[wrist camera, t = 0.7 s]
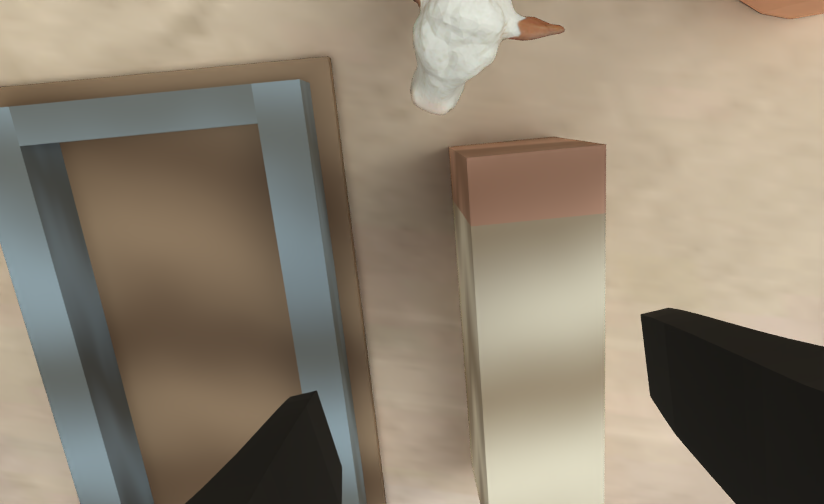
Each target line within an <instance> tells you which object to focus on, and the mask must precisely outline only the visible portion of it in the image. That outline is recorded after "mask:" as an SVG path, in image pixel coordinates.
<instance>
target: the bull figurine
mask: <svg viewBox="0 0 824 504" xmlns="http://www.w3.org/2000/svg"><path fill="white" fill-rule="evenodd" d="M414 1H415V2H416V3H417V4H418V5H419V7H420V14H419V16H418V18H417V20H416V22H415V24H414V27H413V45H414V49H415V53H416V59H417V69H416V71H415V72H414V75H413V78H412V83H411V89H410V92H411V95H412V101H413V103H414V104H415V105H416V106H417V107H419V108H420V109H422V110H425V111H427V112H429V113H432V114H436V115H444V114H446V113H447V112H449V111H450V110H452V109H453V108H454V107H455V105H456V104H457V102H458V100H459V98H460V96H461V94H462V92H463V89H464V85H465V82H466V81H468V80H469V79H471V78H472V77H474V76H476V75H477V74H478V73H480V72H481V71H482V70H483V69H484V68H485V67H487V66H488V65H490V64H491V63H492V62H493V60H494V59H495V57H496V53H497V50H498V47H499V44H500V43H501V41H502V40H504V39H515V40H523V41H524V40H533V39H537V38H541V37H545V36H549V35H553V34H560V33H562V32H564V31H565V30H564V28H563V27H562V26H560V25H554V24H549V23H547V22H544V21H542V20H540V19H537V18H535V17H524V16H521V15H519V14H517V13H516V12H515V10H514V8H513V5H512V0H414Z"/></svg>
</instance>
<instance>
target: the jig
mask: <svg viewBox="0 0 824 504" xmlns="http://www.w3.org/2000/svg"><path fill="white" fill-rule="evenodd" d="M0 244H1V247H2V250H3V253H4V257H5V260H6V263H7V266H8V270H9V273H10V276H11V279H12V283H13V286H14V289H15V293H16V296H17V299H18V302H19V306H20V309H21V312H22V315H23V319H24V322H25V325H26V328H27V332H28V335H29V338H30V341H31V345H32V348H33V351H34V354H35V358H36V361H37V364H38V367H39V371H40V374H41V377H42V380H43V384H44V387H45V390H46V393H47V397H48V400H49V403H50V406H51V410H52V413H53V416H54V419H55V423H56V426H57V429H58V432H59V436H60V439H61V442H62V445H63V449H64V452H65V455H66V458H67V462H68V465H69V468H70V471H71V475H72V478H73V481H74V484H75V488H76V491H77V494H78V497H79V501H80V504H185V503H186V502H187V501H188V500H189V499H191V498H192V497H193V496H194V495H195V494H196V493H197V492H198V491H199V490H200V489H201V488H203V487H204V486H205V485H206V484H207V483H208V482H209V481H210V480H211V479H212V478H213V477H214V476H215V475H216V474H217V473H218V472H219V471H220V470H221V469H222V468H223V467H224V466H225V465H226V464H227V463H228V462H229V461H230V460H231V459H232V458H233V457H234V456H235V455H236V454H237V453H238V451H239V450H240V449H241V448H242V447H243V446H244V445H245V444H246V443H247V442H248V441H249V440H250V438H251V437H252V436H253V435H254V434H255V433H256V432H257V431H258V430H259V429H260V428H261V426H262V425H263V424H264V423H265V422H266V421H267V420H268V419H269V418H270V417H271V415H272V414H273V413H274V412H275V411H276V410H277V409H278V408H279V407H280V406H281V405H282V404H283V403H284V402H285V401H286V400H287V399H288V398H289V397H291V396H295V395H300V394H304V393H308V392H312V391H317V392H318V395H319V398H320V401H321V404H322V407H323V410H324V413H325V416H326V419H327V423H328V426H329V429H330V432H331V435H332V438H333V441H334V444H335V447H336V450H337V453H338V456H339V459H340V462H341V465H342V504H386V497H385V489H384V481H383V473H382V465H381V457H380V449H379V441H378V433H377V426H376V418H375V410H374V402H373V394H372V386H371V378H370V370H369V362H368V354H367V346H366V338H365V330H364V322H363V314H362V306H361V298H360V290H359V282H358V274H357V266H356V258H355V250H354V242H353V234H352V226H351V218H350V210H349V202H348V194H347V186H346V178H345V170H344V162H343V154H342V146H341V138H340V130H339V122H338V114H337V106H336V98H335V90H334V82H333V74H332V66H331V59H330V58H329V57H328V56H327V57H316V58H306V59H295V60H284V61H274V62H263V63H253V64H242V65H231V66H221V67H210V68H200V69H189V70H178V71H168V72H157V73H147V74H136V75H125V76H115V77H104V78H94V79H83V80H72V81H62V82H51V83H41V84H30V85H19V86H9V87H0Z"/></svg>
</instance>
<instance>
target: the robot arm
mask: <svg viewBox="0 0 824 504" xmlns="http://www.w3.org/2000/svg"><path fill="white" fill-rule="evenodd" d="M641 322H642V331H643V339H644V348H645V356H646V364H647V373H648V381H649V390H650V396H651V398H652V400H653V401H654V403H655V404H656V406H657V407H658V409H659V410H660V412H661V414H662V415H663V417H664V418H665V420H666V421H667V423H668V424H669V426H670V427H671V429H672V430H673V431H674V433H675V434H676V436H677V437H678V438H679V439H680V440H681V441H682V443H683V444H684V445H685V446H686V447H687V449H688V450H689V451H690V452H691V453H692V454H693V455H694V457H695V458H696V459H697V460H698V461H699V462H700V464H701V465H702V466H703V467H704V468H705V469H706V470H707V472H708V473H709V474H710V475H711V476H712V477H713V478H714V479H715V481H716V482H717V483H718V484H719V485H720V486H721V487H722V489H723V490H724V491H725V492H726V493H727V494H728V495H729V497H730V498H731V499H732V500H733V501H734V502H735V503H736V504H824V347H823V346H818V345H814V344H810V343H805V342H801V341H797V340H792V339H788V338H784V337H780V336H776V335H772V334H768V333H764V332H761V331H757V330H753V329H750V328H746V327H742V326H739V325H735V324H732V323H728V322H724V321H721V320H717V319H714V318H710V317H706V316H703V315H699V314H695V313H691V312H687V311H683V310H678V309H673V308H666V309H662V310H657V311H653V312H649V313H645V314H641ZM185 504H342V465H341V462H340V459H339V456H338V453H337V450H336V447H335V444H334V441H333V438H332V435H331V432H330V429H329V426H328V423H327V419H326V416H325V413H324V410H323V407H322V404H321V401H320V398H319V395H318V392H317V391H312V392H308V393H304V394H300V395H295V396H291V397H289V398H288V399H287V400H286V401H285V402H284V403H283V404H282V405H281V406H280V407H279V408H278V409H277V410H276V411H275V412H274V413H273V414H272V415H271V417H270V418H269V419H268V420H267V421H266V422H265V423H264V424H263V425H262V426H261V428H260V429H259V430H258V431H257V432H256V433H255V434H254V435H253V436H252V437H251V438H250V440H249V441H248V442H247V443H246V444H245V445H244V446H243V447H242V448H241V449H240V450H239V451H238V453H237V454H236V455H235V456H234V457H233V458H232V459H231V460H230V461H229V462H228V463H227V464H226V465H225V466H224V467H223V468H222V469H221V470H220V471H219V472H218V473H217V474H216V475H215V476H214V477H213V478H212V479H211V480H210V481H209V482H208V483H207V484H206V485H205V486H204V487H203V488H201V489H200V490H199V491H198V492H197V493H196V494H195V495H194V496H193V497H192V498H191V499H189V500H188V501H187V502H186V503H185Z"/></svg>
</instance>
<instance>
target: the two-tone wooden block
mask: <svg viewBox="0 0 824 504" xmlns="http://www.w3.org/2000/svg"><path fill="white" fill-rule="evenodd" d="M449 159H450V173H451V186H452V200H453V214H454V228H455V242H456V255H457V269H458V283H459V297H460V310H461V324H462V338H463V352H464V366H465V379H466V393H467V407H468V421H469V435H470V448H471V462H472V468H473V473H474V477H475V482H476V486H477V491H478V495H479V500H480V504H604V444H605V238H606V144H599V143H592V142H585V141H578V140H572V139H565V138H558V137H548V138H537V139H527V140H516V141H506V142H496V143H485V144H475V145H464V146H454V147H449Z"/></svg>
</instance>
